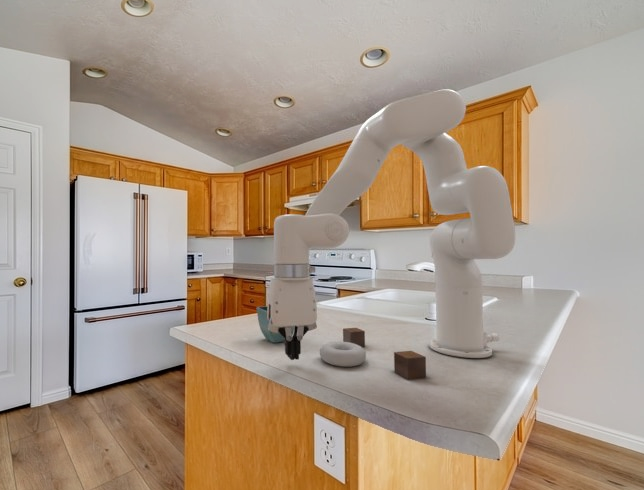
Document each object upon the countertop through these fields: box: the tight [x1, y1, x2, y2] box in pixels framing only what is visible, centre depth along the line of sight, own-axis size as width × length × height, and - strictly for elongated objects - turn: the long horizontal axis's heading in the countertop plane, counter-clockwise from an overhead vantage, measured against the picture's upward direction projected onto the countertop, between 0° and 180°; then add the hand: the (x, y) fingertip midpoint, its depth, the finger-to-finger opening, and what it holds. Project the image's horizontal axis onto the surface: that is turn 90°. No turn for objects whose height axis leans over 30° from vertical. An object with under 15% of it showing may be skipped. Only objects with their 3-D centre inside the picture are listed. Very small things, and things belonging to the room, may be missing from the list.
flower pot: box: [256, 305, 294, 344], centre depth 88 cm, size 9×9×9 cm
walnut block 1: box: [342, 327, 366, 348], centre depth 83 cm, size 4×4×4 cm
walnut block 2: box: [393, 350, 427, 380], centre depth 62 cm, size 4×4×4 cm
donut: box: [318, 341, 367, 368], centre depth 71 cm, size 10×4×10 cm
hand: (292, 357), depth 68 cm, fingers closed
